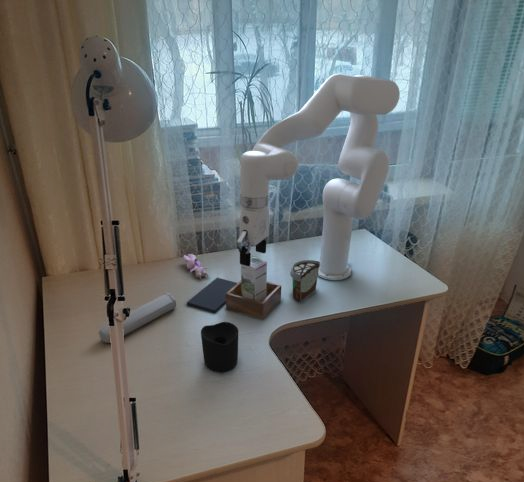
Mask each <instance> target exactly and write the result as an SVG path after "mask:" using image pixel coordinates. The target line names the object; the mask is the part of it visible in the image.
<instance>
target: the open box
mask: <svg viewBox="0 0 524 482" xmlns="http://www.w3.org/2000/svg"><path fill="white" fill-rule="evenodd" d="M236 283H237V284H236V285H235V286H234V287H233V288H231V289H230V290H229V291H228V292H227V293H226V304H225V309H226V310H228V311H232V312H236V313H238V314H242V315H246V316H249V317H251V318H252V317H253V318H255V319H260V320H264V319H265V318H266V317H267V316H268V315H269V314H270V312H271V311H273V309H274V308H275V307H276V306H277V305H278V304H279V302H281V300H282V284H278V283H275V282H271V281H267V283H266V299H265V300H264V301H263V302H259V301H256V300H252V299H249V298H245V297H242V295H241V280H240V281H238V282H236Z"/></svg>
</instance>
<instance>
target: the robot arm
mask: <svg viewBox="0 0 524 482" xmlns="http://www.w3.org/2000/svg"><path fill="white" fill-rule="evenodd" d="M400 95H401V93H400V88H399V86H398V84H397V83H396V82H395V81H394V80H392V79H391V80H390V79H385V78H381V77H375V76H371V75H362V74H356V75H349V74H344V73H335V74H332V75H330V76H328V77H327V78H326V79H325V81H324V82H323V83H322V84H321V85H320V87H319V88H317V89H316V91H315V92H314V93H313V95H312V96H311V97H310V98H309V100H307V102H306V103H305V104H304V105H303V107H301V109H300V110H299V111H297V112H295V113H293V114H291V115H289V116H287V117H285V118H284V119H281V120H280V121H278V122H276V123H274V124H273V125H272V126H271V127H269V128H268V129H267V130H266V131H265V132H264V133H263V135H262V136H261V137H260V138H259V139H258V141H256V143H255V145H254V147H253V148H252V150H248V151H245V152H244V153H242V154H241V156H240V174H239V175H240V179H239V180H240V182H239V183H240V188H239V189H240V199H239V200H240V202H239V204H240V205H239V206H240V208H241V209H240V215H239V228H238V229H239V235H238V239H237V241H236V245H237V250H238V253H239V264H240V266H241V265H245V266H250V265H251V256H252V254H251V252H250V251H251V248H252V246H253V247H255V252H257V253H260V254H266V253H267V239H268V236H269V234H270V209H269V187H270V183H269V182H270V181H285V180H289V179H291V178H292V177H293V176H295V175H296V173H297V171H298V169H299V159H298V157H297V155H295V154H294V153H293V152H292V151H290V150H288V149H285V147H286V146H288V145H290V144H292V143H295V142H298V141H306V140H310V139H314V138H318V137H320V136H322V135H323V134H324V133H325V131H326V130H327V129H328V128H329V127H330V125H331V124H332V123H333V121H334V120H336V118H337V117H338V116H339V115H340V114H341V113H342V112H348V113H349V114H350V115H349V117H350V122H349V123H350V124H349V128H348V131H347V134H346V137H345V141H344V144H343V146H342V149H341V152H340V155H339V159H338V163H337V167H338V170H339V171H340V173H342V174H344V175H346V176H348V177H350V178H354V179H356V180H359V181H360V182H359V184H358V183H357V182H354V181H351V180H347V179H344V178H341V177H340V178H339V177H338V178H333V179H330V180H329V181H328V182H326V184H324V187H323V189H322V205H323V206H322V207H323V208H322V209H323V219H322V220H323V223H322V232H321V244H320V255H319V262H320V267H319V271H318V277H319V278H322V279H324V280H329V281H341V280H342V281H343V280H345V279H347V278H349V277H350V276H351V275H352V269H351V267H350V266H349V265H348V263H349V262H348V261H349V256H350V255H349V254H350V248H351V239H352V234H353V233H352V231H353V219H355V220H365V219H367V218H369V217H370V216H371V214H372V213H373V211H374V210H375V208H376V206H377V202H378V199H379V198H380V195H381V193H382V190H383V187H384V185H385V182H386V180H387V176H388V174H389V171H390V170H389V169H390V160H389V156H388V155H387V153H386V152H385V151H383V150H381V149H378V148H375V147H374V145H375V142H376V138H377V135H378V131H379V119H378V116H383V115H388V114H390V113H391V112H393V110H394V109H395V108H396V107H397V105H398V103H399V101H400ZM377 115H378V116H377ZM245 245H246V246H247V247H246V246H245Z"/></svg>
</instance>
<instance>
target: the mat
mask: <svg viewBox="0 0 524 482" xmlns="http://www.w3.org/2000/svg"><path fill="white" fill-rule="evenodd" d="M237 283H238V282H236V281H231V280H229V279H224V278H221V277H216V278H215V279H213V280H212V281H211V282H210V283H209V284H208V285H206V286H205V287H204V288H203V289H201V290H200V291H198V293H196V294H194V296H193V297H191V298H190V299H189V300H188V301H187V302H186V305H187V306H190V307H194V308H196V309H199V310H203V311H206V312H210V313H213V314H216V313H217V312H218V311H219V310H220V309H221V308H222V307H223V306H225V305H226V293H227V292H228V291H229V290H230V289H231V288H233V287H234V286H235V285H236V284H237Z"/></svg>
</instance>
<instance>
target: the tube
mask: <svg viewBox="0 0 524 482" xmlns="http://www.w3.org/2000/svg"><path fill="white" fill-rule="evenodd" d="M176 307H177V301H176V299H175V298H174V296H173V294H171V293H169V292H167V291H165V292H164V294H162V295H160V296H158V297H156V298H154V299H152V300H150V301H148V302H147V303H145V304H142V305H141V306H139V307H137V308H135V309H133V310H131V311H130V312H131V313H130V316H129V318H128V319H127V320H126V321H125V322H124V324H123V329H124V336H123V337H125V336H127V335H128V334H130V333H132V332H133V331H136V330H137V329H139V328H141V327H143V326H144V325H146V324H148V323H151V322H152V321H155V320H156V319H158V318H159V317H161V316H164V314H166V313H169V312H170V311H174V310H175V309H176ZM98 336H99V338H100V339H101V342H104V343H107V344H111V343H110V334H109V326H108V323H106V324H104V325H102V326H101V328H100V330H99V331H98Z"/></svg>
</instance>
